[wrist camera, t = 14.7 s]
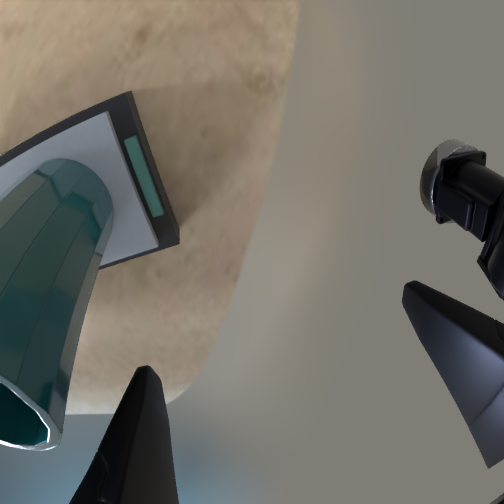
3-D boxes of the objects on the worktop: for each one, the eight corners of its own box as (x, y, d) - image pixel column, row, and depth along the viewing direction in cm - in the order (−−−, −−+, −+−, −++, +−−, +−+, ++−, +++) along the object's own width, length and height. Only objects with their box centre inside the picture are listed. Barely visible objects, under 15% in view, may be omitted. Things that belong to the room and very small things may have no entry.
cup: (60, 134, 14) (-104, 279, 3) (136, 215, 17) (100, 430, 7) (2, 209, 15) (-107, 369, 4) (70, 275, 18) (21, 458, 8)
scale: (131, 90, 16) (123, 93, 13) (179, 229, 21) (179, 249, 19) (-14, 165, 15) (-32, 178, 13) (44, 275, 21) (34, 296, 19)
